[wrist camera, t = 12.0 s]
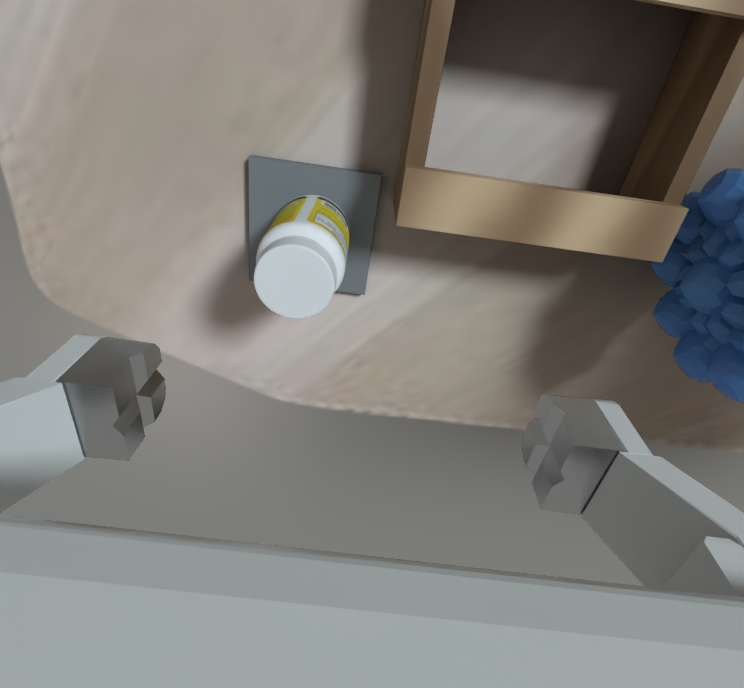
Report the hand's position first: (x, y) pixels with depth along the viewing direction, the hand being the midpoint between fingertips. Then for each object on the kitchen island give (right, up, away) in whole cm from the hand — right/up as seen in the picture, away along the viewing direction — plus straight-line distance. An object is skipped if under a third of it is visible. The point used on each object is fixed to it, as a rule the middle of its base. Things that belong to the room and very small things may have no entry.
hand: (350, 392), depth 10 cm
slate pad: (-3, +9, +20) cm, 22 cm away
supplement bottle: (-3, +9, +20) cm, 22 cm away
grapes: (+21, +8, +21) cm, 30 cm away
